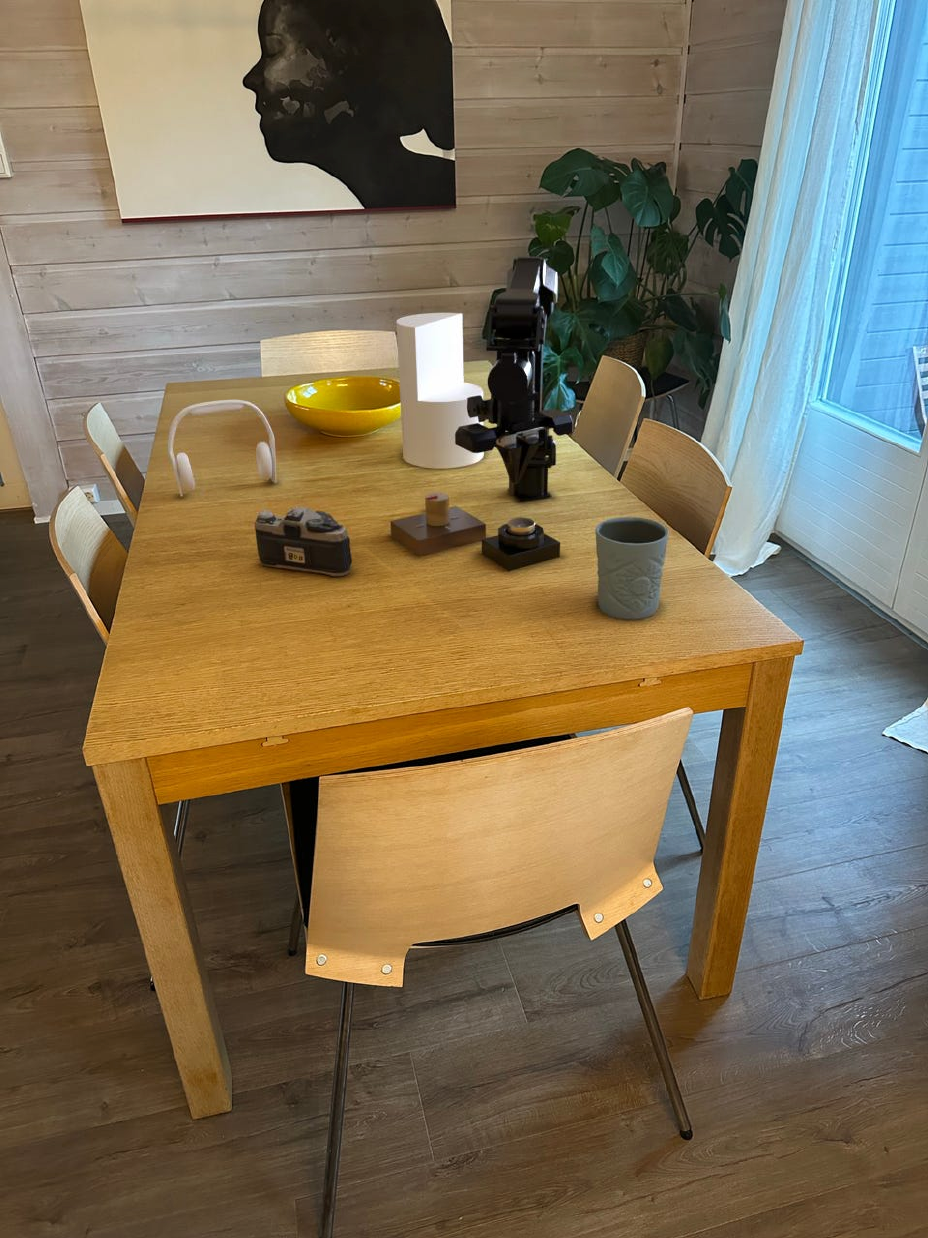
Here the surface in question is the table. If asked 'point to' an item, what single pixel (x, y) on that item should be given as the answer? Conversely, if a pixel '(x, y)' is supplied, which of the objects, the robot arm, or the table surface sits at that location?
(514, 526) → the power button
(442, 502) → the volume knob
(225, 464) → the table surface
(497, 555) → the switch block
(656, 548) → the grey embossed cup
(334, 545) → the camera
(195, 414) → the headset
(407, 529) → the console
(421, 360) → the cylinder
